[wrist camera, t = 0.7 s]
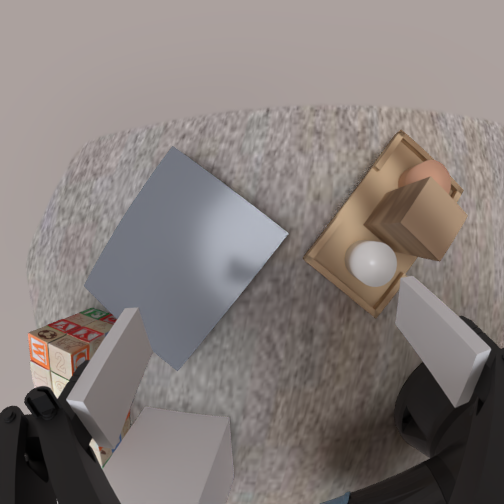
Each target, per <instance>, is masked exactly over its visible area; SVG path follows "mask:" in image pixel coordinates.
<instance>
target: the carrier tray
mask: <svg viewBox="0 0 504 504" xmlns="http://www.w3.org/2000/svg"><path fill="white" fill-rule="evenodd" d="M427 160H434V159H433V158H432V157H431V156H430V155H429V154H428V153H427V152H426V151H425V150H424V149H422V148H421V147H420V146H419V145H418V144H417V143H416V142H415V141H414V140H413V139H411V138H410V137H409V136H408V135H407V134H406V133H405V132H404V131H402V130H400V131H399V132H397V133H396V134H395V135H394V136H393V138H392V139H391V141H390V142H389V144H388V145H387V146H386V148H385V149H384V151H383V152H382V153H381V155H380V156H379V158H378V159H377V160H376V162H375V163H374V164H373V166H372V167H371V169H370V170H369V171H368V173H367V174H366V175H365V177H364V178H363V179H362V181H361V182H360V184H359V185H358V186H357V188H356V189H355V190H354V192H353V193H352V194H351V196H350V197H349V198H348V200H347V201H346V202H345V204H344V205H343V206H342V208H341V209H340V210H339V212H338V213H337V214H336V215H335V217H334V218H333V219H332V221H331V222H330V223H329V225H328V226H327V227H326V228H325V230H324V231H323V232H322V234H321V235H320V236H319V237H318V239H317V240H316V241H315V243H314V244H313V245H312V246H311V248H310V249H309V250H308V252H307V253H306V254H305V255H304V257H303V259H304V260H305V261H306V262H307V263H308V264H310V265H311V266H312V267H313V268H315V269H316V270H317V271H318V272H320V273H321V274H322V275H323V276H324V277H326V278H327V279H328V280H329V281H331V282H332V283H333V284H334V285H336V286H337V287H338V288H339V289H340V290H342V291H343V292H344V293H345V294H347V295H348V296H349V297H350V298H351V299H353V300H354V301H355V302H356V303H357V304H359V305H360V306H361V307H362V308H363V309H365V310H366V311H367V312H368V313H370V314H371V315H372V316H373V317H374V318H377V317H378V315H379V314H380V313H381V312H382V311H383V309H384V308H385V307H386V306H387V304H388V303H389V302H390V300H391V299H392V298H393V297H394V295H395V294H396V293H397V291H398V290H399V288H400V278H403V277H407V276H406V275H405V274H406V273H407V271H408V270H409V268H410V267H411V266H412V264H413V263H414V261H415V260H416V259H417V257H421V258H426V259H431V260H435V261H441V259H442V258H443V256H444V254H445V253H446V251H447V250H448V248H449V247H450V245H451V243H452V242H453V240H454V239H455V237H456V235H457V234H458V232H459V230H460V229H461V227H462V225H463V223H464V222H465V220H466V218H467V216H468V215H467V214H466V213H465V212H464V211H463V210H462V208H461V207H460V206H459V205H458V204H457V201H458V200H459V198H460V196H461V194H462V192H463V191H464V190H463V189H462V188H461V187H460V186H459V185H458V184H457V183H456V181H455V180H454V179H453V178H452V177H451V176H450V179H451V189H450V192H449V194H448V193H447V192H446V191H445V190H444V189H443V188H442V187H441V186H440V185H439V184H438V183H437V182H436V181H435V180H434V179H433V178H432V177H431V176H430V177H427V178H425V179H422V180H419V181H416V182H414V183H411V184H408V185H405V186H403V187H400V188H398V181H399V178H400V175H401V174H402V173H403V172H404V171H405V170H407V169H409V168H412V167H414V166H416V165H418V164H420V163H423V162H425V161H427ZM359 240H368V241H376V242H382V243H385V244H387V245H388V246H389V247H390V248H391V249H392V250H393V251H394V253H395V255H396V259H397V268H396V272H395V274H394V276H393V277H392V279H391V280H390V281H389V282H388V283H386V284H385V285H383V286H379V287H371V286H368V285H366V284H364V283H363V282H361V281H360V280H359V279H357V278H356V277H354V276H353V275H351V274H350V273H349V272H348V270H347V268H346V266H345V253H346V251H347V249H348V247H349V246H350V245H351V244H352V243H354V242H356V241H359Z"/></svg>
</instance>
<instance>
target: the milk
mask: <svg viewBox="0 0 504 504" xmlns="http://www.w3.org/2000/svg"><path fill="white" fill-rule="evenodd" d="M102 470H103V472H104V474H105V476H106V477H107V479H108V481H109V483H110V485H111V487H112V489H113V491H114V492H115V494H116V496H117V498H118V499H119V501H120V503H121V504H226V502H227V499H228V496H229V493H230V490H231V486H232V483H233V480H234V467H233V456H232V443H231V430H230V417H224V416H213V415H203V414H194V413H186V412H179V411H172V410H165V409H159V408H153V407H148V406H145V407H144V409H143V410H142V412H141V413H140V415H139V416H138V418H137V419H136V421H135V422H134V423H133V425H132V426H131V428H130V429H129V431H128V432H127V434H126V435H125V437H124V438H123V440H122V441H121V443H120V444H119V446H118V447H117V448H116V450H115V451H114V453H113V454H112V456H111V457H110V459H109V460H108V462H107V463H106V465H105V466H104V468H103V469H102Z"/></svg>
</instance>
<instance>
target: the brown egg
mask: <svg viewBox="0 0 504 504" xmlns="http://www.w3.org/2000/svg"><path fill="white" fill-rule="evenodd" d="M430 176H431V177H432V178H433V179H434V180H435V181H436V182H437V183H438V184H439V185H440V186H441V187H442V188H443V189H444V190H445V191H446V192H447V193H448V194H449V192H450V189H451V179H450V175H449V173H448V171H447V169H446V168H445V167H444V165H443V164H441V163H440V162H438V161H436V160H427V161H425V162H423V163H420V164H418V165H416V166H414V167H412V168H409V169H407V170H405V171H404V172H403V173H402V174H401V175H400V178H399V181H398V188H400V187H403V186H405V185H408V184H411V183H414V182H416V181H419V180H422V179H425V178H427V177H430Z"/></svg>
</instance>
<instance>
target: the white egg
mask: <svg viewBox="0 0 504 504" xmlns="http://www.w3.org/2000/svg"><path fill="white" fill-rule="evenodd" d="M345 266H346V268H347V270H348V272H349V273H350V274H351V275H353V276H354V277H356V278H357V279H359V280H360V281H361V282H363V283H364V284H366V285H368V286H371V287H379V286H383V285H385V284H386V283H388V282H389V281H390V280H391V279H392V277H393V276H394V274H395V272H396V268H397V259H396V255H395V253H394V251H393V250H392V249H391V248H390V247H389V246H388V245H387V244H385V243H382V242H376V241H368V240H359V241H356V242H354V243H352V244H351V245H350V246H349V247H348V249H347V251H346V253H345Z"/></svg>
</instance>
